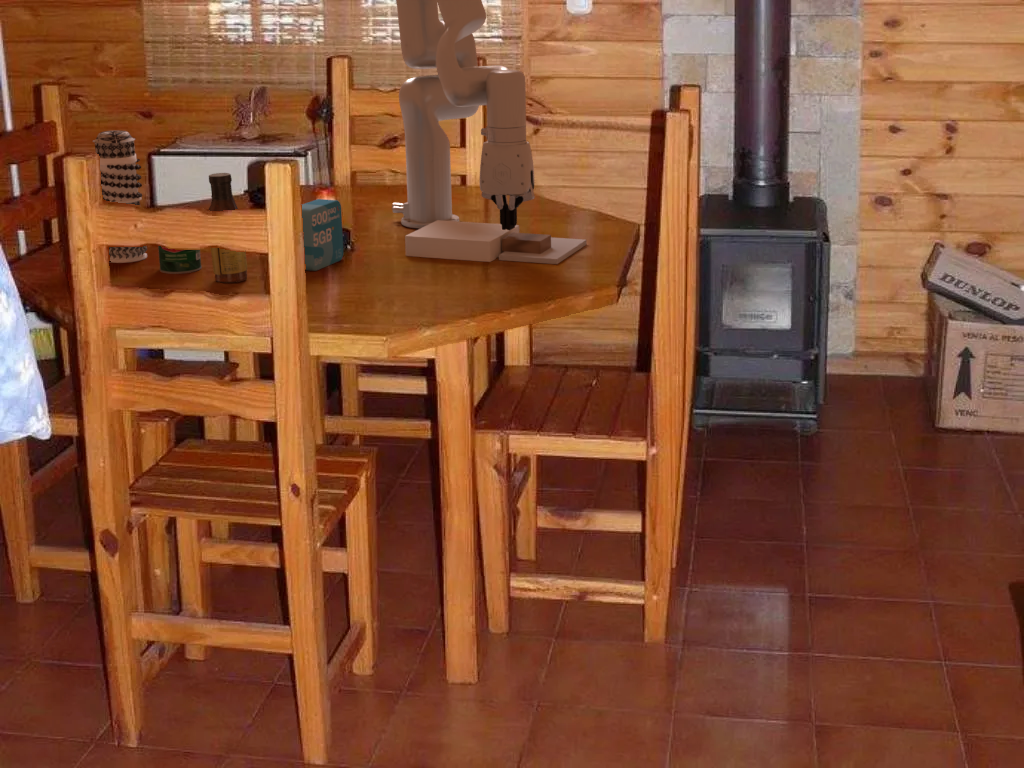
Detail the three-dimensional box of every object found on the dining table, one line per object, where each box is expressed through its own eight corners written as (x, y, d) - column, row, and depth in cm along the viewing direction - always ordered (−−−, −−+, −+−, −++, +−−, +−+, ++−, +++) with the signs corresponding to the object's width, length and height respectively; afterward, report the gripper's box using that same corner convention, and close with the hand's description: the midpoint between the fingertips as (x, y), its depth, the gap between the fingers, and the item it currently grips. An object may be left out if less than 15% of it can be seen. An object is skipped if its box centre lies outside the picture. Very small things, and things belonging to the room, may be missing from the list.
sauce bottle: (254, 278, 278) (247, 172, 272) (235, 285, 273) (227, 178, 267) (225, 275, 281) (217, 170, 275) (205, 282, 275) (197, 176, 269)
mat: (498, 259, 289) (498, 254, 289) (530, 240, 305) (530, 236, 304) (557, 264, 285) (557, 259, 284) (586, 244, 301) (586, 239, 300)
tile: (502, 251, 292) (502, 238, 291) (513, 244, 297) (513, 232, 296) (540, 253, 289) (540, 241, 288) (551, 247, 294) (550, 235, 293)
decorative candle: (158, 254, 299) (147, 129, 291) (133, 264, 290) (120, 136, 283) (119, 251, 302) (107, 128, 294) (93, 261, 293) (79, 134, 286)
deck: (405, 255, 294) (404, 235, 292) (438, 239, 308) (437, 220, 307) (490, 261, 287) (489, 241, 286) (519, 244, 302) (519, 225, 300)
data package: (312, 272, 281) (308, 210, 278) (292, 271, 283) (288, 208, 279) (344, 259, 292) (341, 198, 288) (324, 257, 294) (321, 197, 290)
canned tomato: (166, 275, 281) (160, 218, 278) (155, 267, 288) (150, 211, 284) (206, 270, 284) (202, 214, 281) (195, 262, 291) (190, 207, 288)
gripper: (463, 136, 286) (466, 230, 292) (536, 139, 281) (537, 234, 287) (478, 131, 293) (480, 222, 299) (549, 133, 288) (550, 227, 293)
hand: (508, 228), depth 293 cm, fingers closed
